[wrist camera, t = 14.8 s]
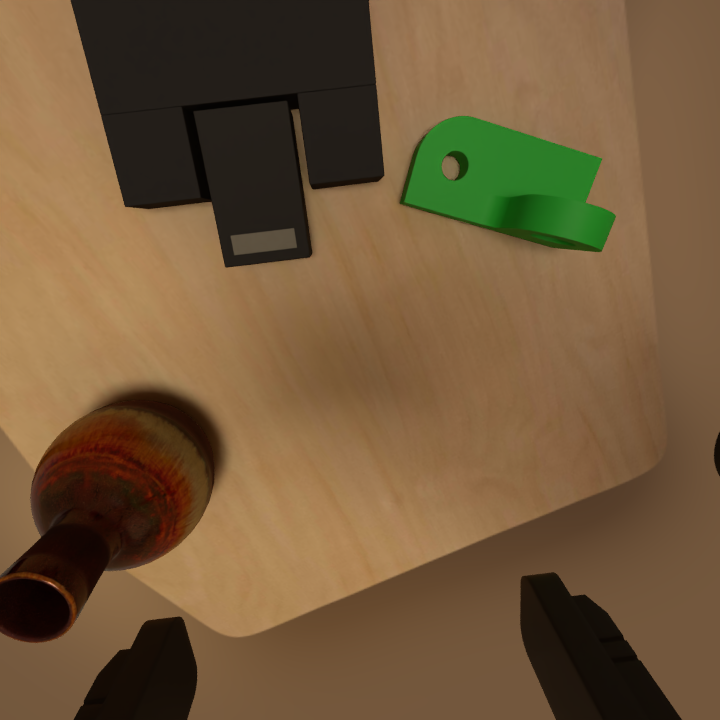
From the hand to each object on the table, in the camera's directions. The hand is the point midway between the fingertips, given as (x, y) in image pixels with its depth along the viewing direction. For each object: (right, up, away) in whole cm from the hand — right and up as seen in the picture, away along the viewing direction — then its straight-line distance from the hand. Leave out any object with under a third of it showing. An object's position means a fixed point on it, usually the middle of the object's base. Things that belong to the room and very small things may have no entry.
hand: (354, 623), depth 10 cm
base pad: (-7, +24, +18) cm, 31 cm away
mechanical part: (+9, +19, +21) cm, 29 cm away
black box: (-7, +18, +20) cm, 27 cm away
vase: (-16, -1, +25) cm, 30 cm away
